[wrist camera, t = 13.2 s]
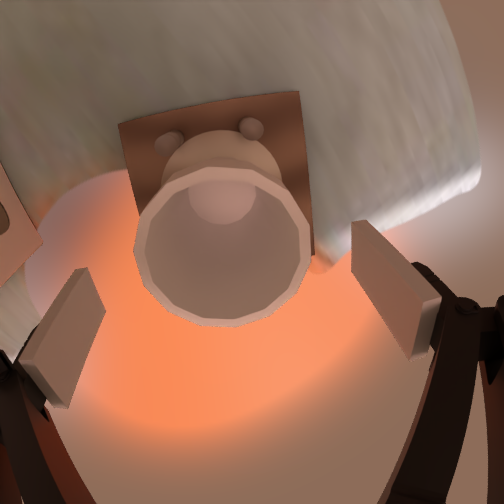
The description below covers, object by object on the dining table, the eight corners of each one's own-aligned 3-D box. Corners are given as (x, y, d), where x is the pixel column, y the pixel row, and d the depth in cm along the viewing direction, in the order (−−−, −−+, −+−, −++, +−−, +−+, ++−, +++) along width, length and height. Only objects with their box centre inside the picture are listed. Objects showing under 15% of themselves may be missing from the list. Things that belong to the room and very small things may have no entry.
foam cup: (220, 116, 25) (219, 125, 14) (295, 188, 29) (345, 249, 17) (149, 196, 28) (102, 263, 16) (223, 257, 31) (227, 350, 20)
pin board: (122, 123, 26) (97, 129, 20) (295, 91, 26) (314, 88, 20) (161, 273, 33) (150, 309, 27) (311, 248, 33) (329, 280, 28)
